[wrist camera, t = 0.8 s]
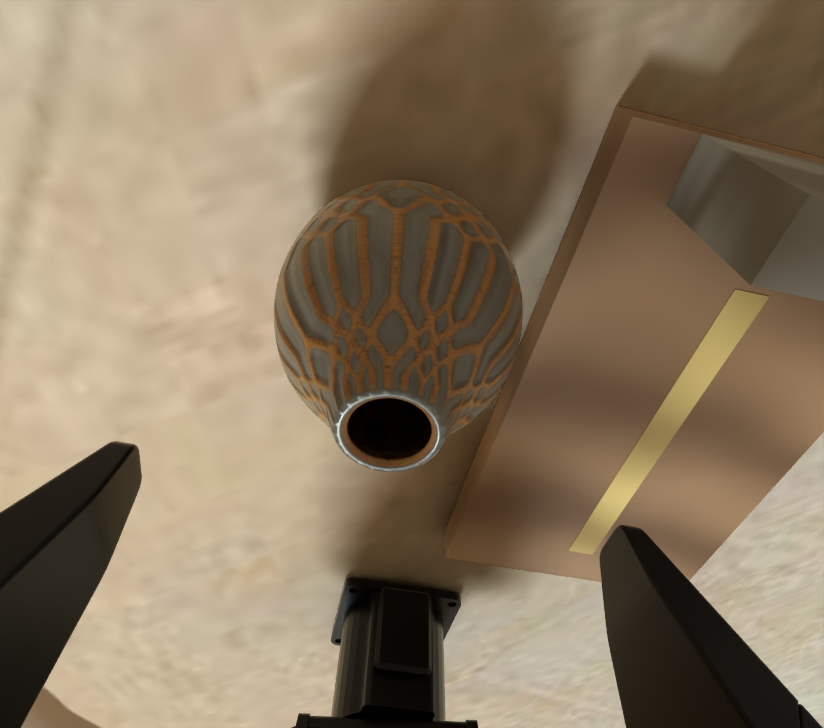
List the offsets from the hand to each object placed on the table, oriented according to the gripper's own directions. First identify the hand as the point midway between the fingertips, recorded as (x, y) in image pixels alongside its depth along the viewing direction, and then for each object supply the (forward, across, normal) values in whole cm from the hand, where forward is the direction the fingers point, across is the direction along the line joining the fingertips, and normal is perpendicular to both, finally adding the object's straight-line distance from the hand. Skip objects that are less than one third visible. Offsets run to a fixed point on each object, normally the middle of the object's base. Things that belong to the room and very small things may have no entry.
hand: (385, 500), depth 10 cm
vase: (+11, 0, 0) cm, 11 cm away
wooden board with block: (+10, -11, +4) cm, 16 cm away
